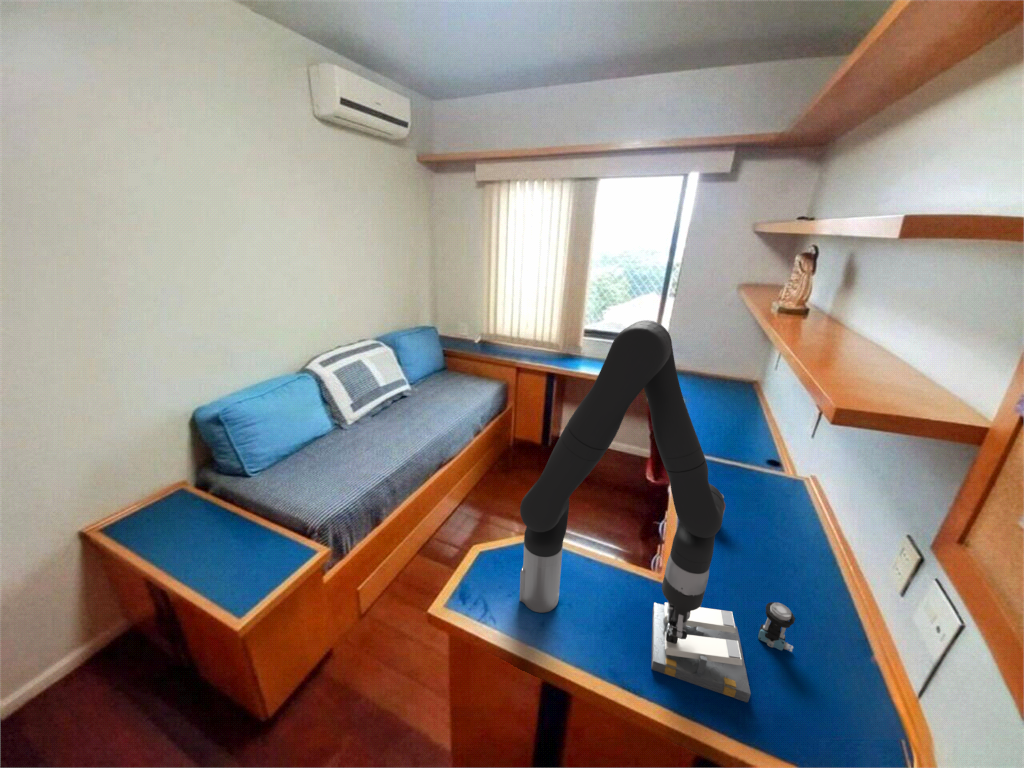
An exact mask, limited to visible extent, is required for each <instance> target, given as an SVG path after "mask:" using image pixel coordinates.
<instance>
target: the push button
mask: <svg viewBox="0 0 1024 768" xmlns="http://www.w3.org/2000/svg"><path fill="white" fill-rule="evenodd" d="M765 615H766V617H767V619H766V621H765V623H764V624H761V625H760V628H759V630H758V636H757V637H758V638H757V639H758V640H760V641H762V642H763V643H765V644H766V645H767V646H768V647H770V648H775V649H777V650H779V651H783V650H787V651H789V652H791V653H793V649H794V646H793V645H791V644H789V642H786V635H785V632H786V631H787V630H786V629H788V628H791V626H792V625H793V624H795V622H796V621H795V620H796V618H795V615H794V613H793V612H792V611H791V610H790V608H789V607H787V606H786V605H785V604H783V603H780V602H775V601H770V602H768V603H766V604H765Z"/></svg>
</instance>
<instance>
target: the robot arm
mask: <svg viewBox="0 0 1024 768" xmlns="http://www.w3.org/2000/svg"><path fill="white" fill-rule="evenodd" d="M673 349H674V348H673V343H672V338H671V334H670V333H669V331H668V329H666V328H665V327H664V325H662V324H661V323H658V322H656V321H655V320H650V319H649V320H648V319H647V320H644V319H643V320H639V321H636V322H634V323H633V324H632V323H631V324H630V325H629V326H627V327H626V328H624V329H623V330H620V332H619V333H618V334H617V335H616V337H615V338H614V339H613V342H612V344H611V346H610V347H609V350H608V352H607V355H606V358H605V360H604V361H603V364H602V367H601V369H600V371H599V373H598V374H597V377H596V379H595V382H594V384H593V385H592V387H591V388H590V390H589V391H588V392H587V394H586V396H584V398H583V399H582V400H581V402H580V403H579V404H578V407H577V408H576V409H575V410H574V412H573V414H572V415H571V417H570V418H569V420H568V421H567V423H566V425H565V427H564V428H563V430H562V431H561V433H560V436H559V438H558V440H557V442H556V444H555V446H554V448H553V450H552V452H551V453H550V456H549V458H548V461H547V462H546V464H545V467H544V469H543V471H542V473H541V475H540V476H539V478H538V480H537V481H536V482H534V484H533V485H532V487H531V488H530V489H529V490H528V491H527V493H526V494H525V495H524V497H523V498H522V500H521V503H520V507H519V508H520V509H519V513H520V518H521V520H522V523H523V524H524V525H525V526H526V527H525V530H524V535H523V536H524V537H523V564H522V566H521V567H522V568H521V569H520V573H519V574H520V576H519V602H521V603H523V604H525V606H526V608H528V609H529V610H531V611H532V612H535V613H543V614H544V613H549V612H551V611H553V610H554V609H555V608H556V606H557V605H558V602H559V598H560V597H559V596H560V584H561V573H562V572H561V571H562V560H563V559H562V558H563V544H564V539H565V536H566V533H567V528H568V521H569V520H568V519H569V511H570V497H571V496H572V494H573V493H574V492H575V490H577V488H578V487H580V485H581V484H582V483H583V481H585V479H586V478H587V477H588V476H589V475H590V473H592V471H593V470H594V468H595V467H596V466H597V464H598V463H599V462H600V460H602V459H603V456H604V455H605V454H606V452H607V451H608V449H609V448H610V446H611V445H612V443H613V442H614V439H615V438H616V436H617V434H618V432H619V429H620V427H621V425H622V422H623V420H624V417H625V415H626V413H627V410H628V409H629V408H630V406H631V405H632V403H634V400H635V399H636V398H637V397H638V396H639V394H640V393H641V392H642V391H643V390H644V394H645V397H646V400H647V404H648V409H649V412H650V419H651V424H652V425H651V426H652V432H653V435H654V440H655V443H656V447H657V450H658V453H659V456H660V458H661V462H662V464H663V467H664V469H665V471H666V474H667V476H668V480H669V484H670V485H669V486H670V492H671V495H672V500H673V506H674V509H675V513H676V516H677V519H678V526H677V528H676V531H675V534H674V536H673V540H672V543H671V549H670V554H669V556H668V558H667V561H666V566H665V570H664V576H663V579H662V580H663V581H662V584H661V591H662V594H663V596H664V598H665V599H666V600H667V603H668V607H667V613H668V616H667V621H668V625H667V630H666V641H668V642H671V643H674V644H676V643H677V640H678V638H679V639H686V637H687V634H686V632H685V629H682V628H685V627H686V623H687V620H688V619H689V618H690V611H692V610H696V609H698V608H699V607H700V606H701V607H702V603H703V601H704V600H703V599H704V596H705V592H706V588H707V585H708V580H709V575H710V567H711V565H712V559H713V555H714V548H715V537H716V534H717V533H718V532H719V531H720V529H721V527H722V524H723V518H724V514H723V512H724V513H725V510H724V502H725V500H724V499H725V498H724V499H723V497H722V495H723V494H722V493H721V492H720V490H719V489H718V488H717V487H715V485H713V484H711V483H710V482H709V468H708V463H707V460H706V457H705V454H704V452H703V448H702V446H701V443H700V441H699V437H698V435H697V432H696V430H695V427H694V425H693V422H692V419H691V417H690V414H689V411H688V407H687V404H686V402H685V399H684V396H683V393H682V389H681V385H680V381H679V380H680V379H679V378H678V377H679V376H678V373H677V367H676V362H675V361H676V360H675V356H674V350H673ZM721 494H722V495H721Z"/></svg>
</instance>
